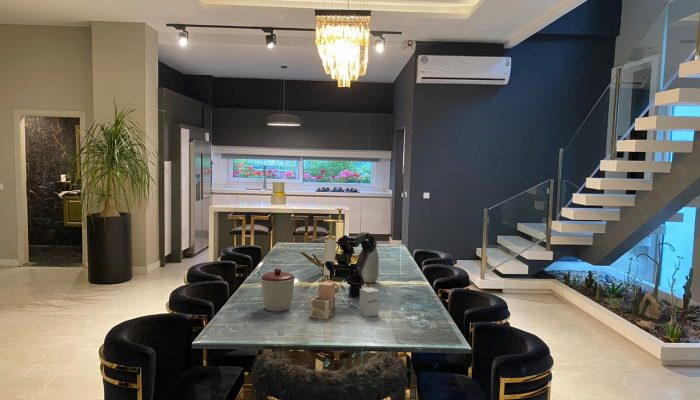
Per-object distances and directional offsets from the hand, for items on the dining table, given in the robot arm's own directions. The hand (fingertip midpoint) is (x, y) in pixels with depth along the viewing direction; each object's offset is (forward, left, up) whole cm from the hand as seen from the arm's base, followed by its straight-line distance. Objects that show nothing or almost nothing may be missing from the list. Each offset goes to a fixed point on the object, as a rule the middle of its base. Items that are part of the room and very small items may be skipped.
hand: (337, 280), depth 260 cm
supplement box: (-11, +18, -14) cm, 25 cm away
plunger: (+8, +9, -13) cm, 17 cm away
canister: (+30, -5, -14) cm, 34 cm away
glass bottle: (-36, -40, -14) cm, 56 cm away
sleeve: (+12, +13, -13) cm, 22 cm away
